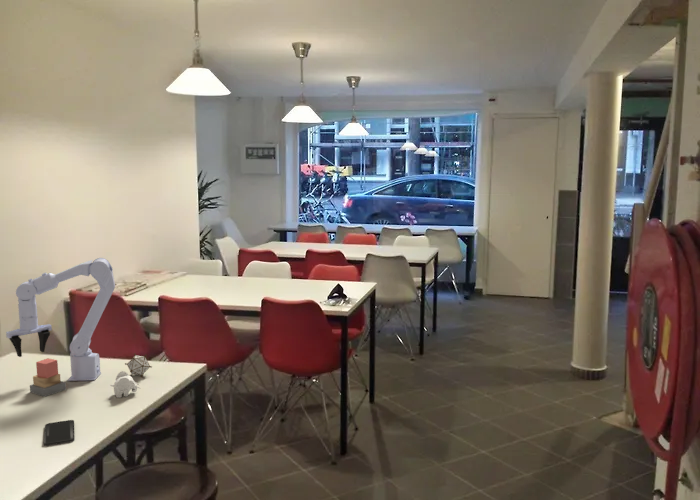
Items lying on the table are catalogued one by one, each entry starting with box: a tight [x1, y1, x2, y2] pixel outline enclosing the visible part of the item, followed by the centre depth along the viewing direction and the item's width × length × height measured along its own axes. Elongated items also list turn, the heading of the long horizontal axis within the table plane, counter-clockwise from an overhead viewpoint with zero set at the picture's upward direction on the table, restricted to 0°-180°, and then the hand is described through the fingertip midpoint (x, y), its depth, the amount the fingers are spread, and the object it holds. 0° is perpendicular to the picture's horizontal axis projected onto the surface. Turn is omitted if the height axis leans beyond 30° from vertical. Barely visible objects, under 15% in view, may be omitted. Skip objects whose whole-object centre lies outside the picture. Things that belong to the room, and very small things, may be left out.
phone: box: [43, 419, 75, 447], centre depth 180 cm, size 8×1×15 cm
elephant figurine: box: [109, 370, 141, 398], centre depth 210 cm, size 8×10×7 cm
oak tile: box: [32, 373, 62, 388], centre depth 213 cm, size 6×6×3 cm
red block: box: [35, 358, 59, 378], centre depth 213 cm, size 5×5×5 cm
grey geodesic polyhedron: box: [124, 353, 153, 378], centre depth 229 cm, size 9×8×10 cm
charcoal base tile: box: [29, 380, 67, 397], centre depth 214 cm, size 8×8×3 cm
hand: (31, 353), depth 221 cm, fingers open, 7 cm apart
